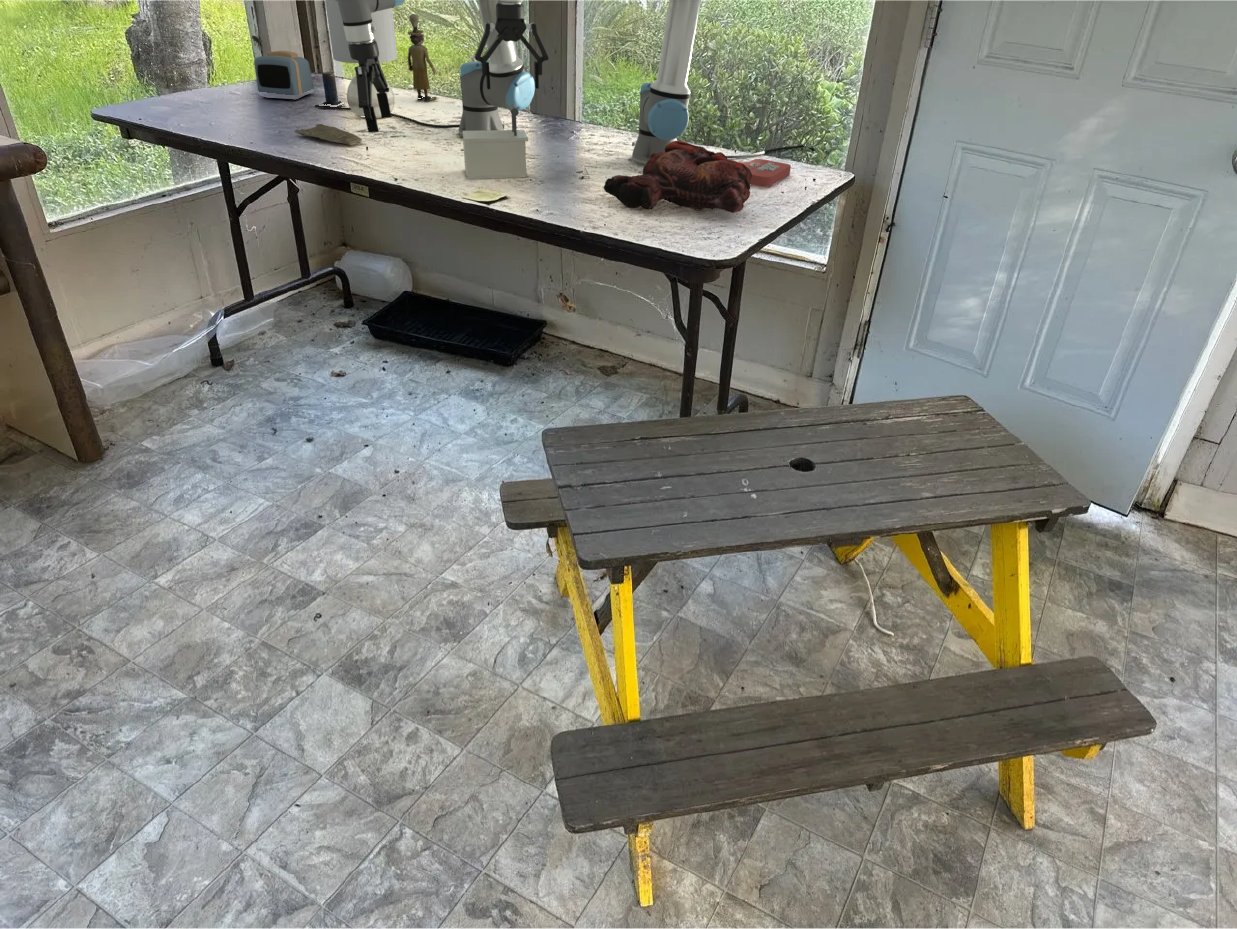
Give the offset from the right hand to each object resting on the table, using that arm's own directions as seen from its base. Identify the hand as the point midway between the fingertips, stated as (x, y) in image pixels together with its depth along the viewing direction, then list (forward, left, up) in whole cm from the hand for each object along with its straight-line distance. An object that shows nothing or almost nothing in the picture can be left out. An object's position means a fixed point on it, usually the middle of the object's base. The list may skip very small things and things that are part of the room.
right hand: (512, 88), depth 239 cm
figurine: (+6, -108, -24) cm, 111 cm away
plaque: (-68, +25, -24) cm, 76 cm away
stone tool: (+47, -54, -24) cm, 75 cm away
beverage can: (+41, -103, -24) cm, 114 cm away
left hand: (+37, -6, -9) cm, 39 cm away
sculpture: (-33, +42, -24) cm, 58 cm away
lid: (+6, -1, -13) cm, 14 cm away
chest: (+6, -1, -24) cm, 24 cm away
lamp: (+29, -84, -24) cm, 92 cm away
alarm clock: (+55, -126, -24) cm, 140 cm away
